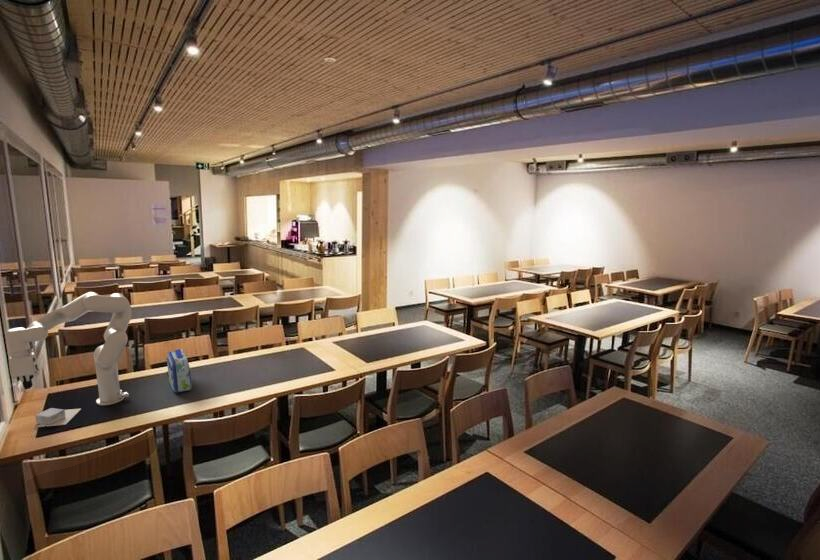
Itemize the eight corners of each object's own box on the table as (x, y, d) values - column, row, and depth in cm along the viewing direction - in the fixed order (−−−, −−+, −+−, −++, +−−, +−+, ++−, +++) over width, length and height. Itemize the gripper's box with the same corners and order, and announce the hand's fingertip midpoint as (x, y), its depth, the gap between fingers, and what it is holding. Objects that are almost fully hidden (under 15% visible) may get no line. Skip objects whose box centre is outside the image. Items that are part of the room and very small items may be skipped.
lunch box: (167, 380, 263) (164, 348, 259) (186, 376, 269) (184, 344, 265) (172, 397, 242) (169, 361, 238) (193, 392, 248) (191, 358, 244)
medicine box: (35, 423, 210) (50, 425, 209) (34, 414, 210) (49, 417, 208) (51, 415, 218) (66, 417, 216) (50, 407, 217) (65, 409, 216)
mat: (81, 409, 226) (81, 408, 226) (65, 424, 211) (65, 423, 211) (54, 411, 223) (54, 410, 223) (36, 427, 208) (36, 426, 208)
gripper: (43, 348, 212) (50, 382, 216) (7, 351, 209) (15, 386, 213) (34, 354, 205) (42, 389, 209) (-3, 357, 202) (5, 393, 206)
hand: (28, 387), depth 211 cm, fingers closed
